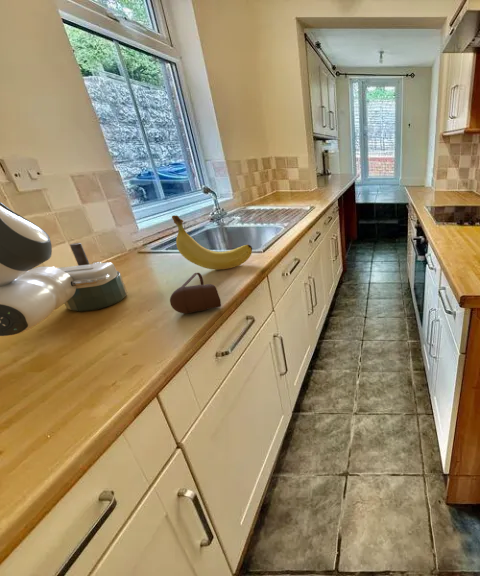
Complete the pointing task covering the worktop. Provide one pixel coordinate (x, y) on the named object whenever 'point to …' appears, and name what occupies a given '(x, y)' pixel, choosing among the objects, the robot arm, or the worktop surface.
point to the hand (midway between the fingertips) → (76, 267)
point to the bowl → (98, 295)
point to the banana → (208, 251)
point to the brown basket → (195, 297)
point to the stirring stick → (79, 254)
